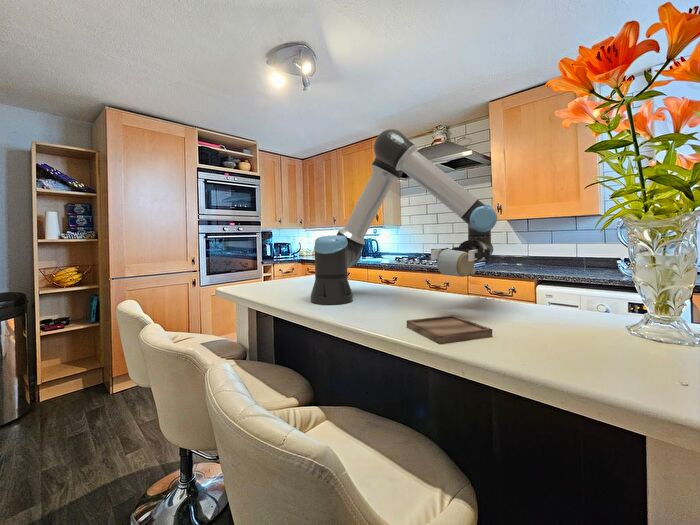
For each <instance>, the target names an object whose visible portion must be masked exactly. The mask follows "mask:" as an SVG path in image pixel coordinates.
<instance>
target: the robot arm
mask: <svg viewBox="0 0 700 525" xmlns="http://www.w3.org/2000/svg"><path fill="white" fill-rule="evenodd" d="M373 151H374V155H375V157H374V160H372V161H373V162H372V164H371V169H372V173H371V175H370V177H369V179H368V181H367V183H366V184H365V187H364V189H363V190H362V193H361V194H360V196H359V198H358V200H357V202H356V204H355V206H354V208H353V210H352V212H351V214H350V216H349V218H348V220H347V221H346V224H345V225H344V227H343V228H340V229H338V232H337V234H336V235H326V236H325V235H324V236H319V237H316V238H315V240H314V248H313V249H314V275H315V276H314V277H315V278H314V282H313V286H312V290H311V293H310V302H312V303H313V304H317V305H344V304H348V303H350V302H353V300H354V299H353V296H354V295H353V292H352V288H351V285H350V283H349V280H348V268H352V267H353V266H355V265H356V264H357V263H358V262H359V260H360V259H361V256H362V250H363V248H364V246H365V245H366V241H365V236H366V235H367V232H368V230H369V229H370V226H371V225H372V223H373V221H374V219H375V217H376V215H377V214H378V211H379V210H380V208H381V206H382V204H383V202H384V200H385V198H386V197H387V194H388V192H389V190H390V189H391V187H392V185H393V183H395V182H396V181H399V180H400V178H401V176H402V175H403V173H404V174H406V175H407V176H408V177H409V178H411V180H413V181H414V182H415V183H417V184H418V185H419V186H421V187H422V188H423V189H424V190H425V191H427V192H428V193H429V194H430V195H432V196H433V197H434V198H435V199H437V200H438V201H439V202H440V203H441V204H443V206H445V207H446V208H448V209H449V210H450V211H451V212H453V213H454V214H455V215H457V217H459V218H460V219H462V221H463V222H465V224H467V240H464V241H462V242H461V243H460V244H459V246H453V247H452V248H449V247H444V248H431V249H430V260H431V261H437V260H438V256H439V254H440V253H441V252H442V251H443V250H445V249H451V250H456V251H463V252H467V253H468V261H474V265H475V264H476V263H479V262H484V261H486V260H487V261H488V260H490V259H491V256H492V255H493V253H494V246H493V244H492V229H494V228H495V225H496V224H497V222H498V214H497V212H496V210H494V209H493V208H492V207H491V205H490V204H486V203H484V202H482V201H481V200H479V199H478V197H476V196H474V195H473V194H472V193H470V192H469V191H468V190H467V189H466V188H464V186H461V184H460V183H458V182H457V181H456V180H454V179H453V178H452V177H450V176H449V174H446V172H445V171H443V170H441V169H440V168H439V167H438V166H437V165H435V164H434V163H433V162H431V161H430V160H429V159H428V158H426V156H424V155H423V154H421V153H420V152H419V151H418V149H417V145H415V144H414V143H413V142H412V141H411V140H410V139H408V138H407V137H406V135H405V134H404V133H402V132H401V131H400V130H398V129H395V128H392V129H389V128H388V129H386V130H383V131H381V133H379V134H378V136H377V137H376V139H375V140H374V144H373Z"/></svg>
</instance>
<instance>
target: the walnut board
mask: <svg viewBox="0 0 700 525" xmlns="http://www.w3.org/2000/svg"><path fill="white" fill-rule="evenodd" d="M406 328H408V329H410V330H412V331H414V333H415V332H416V333H418V335H421V336H423V337H425V338H427V339H429V340H431V341H432V342H435V343H437V344H439V345H442V344H451V343H456V342H457V343H458V342H463V341H471V340H479V339H483V338H485V339H486V338H492V337H493V329H492V328H490V327H487V326H485V325H483V324H482V325H481V324H478V323H476V322H473V321H471V320H467V319H464V318H461V317H458V316H456V315H453V314H452V315H451V314H450V315H445V316H443V315H442V316H435V317H425V318H417V319H407V320H406Z"/></svg>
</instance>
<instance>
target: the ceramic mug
mask: <svg viewBox="0 0 700 525" xmlns="http://www.w3.org/2000/svg"><path fill="white" fill-rule="evenodd" d="M451 249H452V248H450V249H445V250H443V251H442V252H441V253H440V254H439V256H438V260H436V266H437V269H438V272H440V274H442V275H445V276H453V277H459V278H460V277H461V278H464V277H467V276H469V275H474V276H475V274H476V271H477V269H476V268H475V267H474V266H475V264H474V261H468V253H467V252H463V251H456V250H451Z"/></svg>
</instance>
